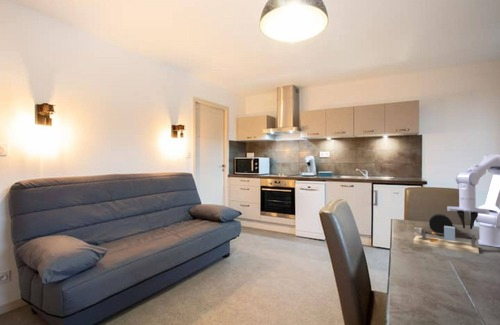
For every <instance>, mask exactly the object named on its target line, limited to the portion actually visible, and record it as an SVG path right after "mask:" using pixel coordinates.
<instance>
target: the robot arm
mask: <svg viewBox="0 0 500 325" xmlns="http://www.w3.org/2000/svg"><path fill="white" fill-rule="evenodd" d="M487 172H488V173H490V174H492V178H491V182H490V185H489V189H488V193H487V196H486V199H485V203H483V204H482V205H480V206H478V207H476V200H477V199H476V186H477V185H478V184H479V181H480V180H481V178H482V177H484V176H485V175H486V173H487ZM455 181H456V184H457V188H458V197H459V199H458V202H459V206H447V207H446V209H447V210H446V211H447V212H456V213H457V215H458V217H459V219H460V222H461V223H462V228H463V229H466V224H465V213H469V215H470V220H469V221H470V224H469V229H470V230H472V229H473V227H474V223H475V222H476V223H477V225H478V227H479V230H478V232H479V233H478V234H479V239H477V242H478V245H480V246H486V247H495V248H500V154H485V155H483V158H482V160H481V162H479V164H472V166H471V167H469V168H467V169H466V170H465V171H461V172H458V173H457V174H456V178H455Z"/></svg>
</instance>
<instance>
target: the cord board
mask: <svg viewBox="0 0 500 325" xmlns="http://www.w3.org/2000/svg"><path fill="white" fill-rule="evenodd" d="M413 233H414V235H415V236H414V238H413V239H412V240H413V244H415V245H416V244H417V245H423V246H428V247H436V248H441V249H448V250H454V251H460V252H468V253H473V254H480V252H479V251H480V250H479V247H478V246H479V245H478V244H477V243H476V241H477V237H476V235H475V234H471V236H464V235H457V234H455V238H459V239H466V240H471V242H466V241H457V240H455V241H450V240H444V238H438V237H430V236H427V234H428V235H429V234H430V235H434V236H436V235H437V236H442V237H444V234H443V233H436V232H434V231H429V230H427V229H426V228H422V227H417V226H414V228H413Z"/></svg>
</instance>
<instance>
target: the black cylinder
mask: <svg viewBox="0 0 500 325" xmlns="http://www.w3.org/2000/svg"><path fill="white" fill-rule="evenodd" d="M428 220H429V222H428V225H429V228H430V230H431V232H436V233H443V234H444V226H451V227H454V225H453V222H452V221H451V218H449V216H447V215H445V214H443V213H442V214H441V213H435V214H434V215H432V216H430V218H429V219H428Z"/></svg>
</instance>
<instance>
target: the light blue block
mask: <svg viewBox="0 0 500 325" xmlns="http://www.w3.org/2000/svg"><path fill="white" fill-rule="evenodd" d="M455 235H456V227H455V226H453V227H451V226H444V236H443V239H444V240H450V241H456V237H455Z"/></svg>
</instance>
